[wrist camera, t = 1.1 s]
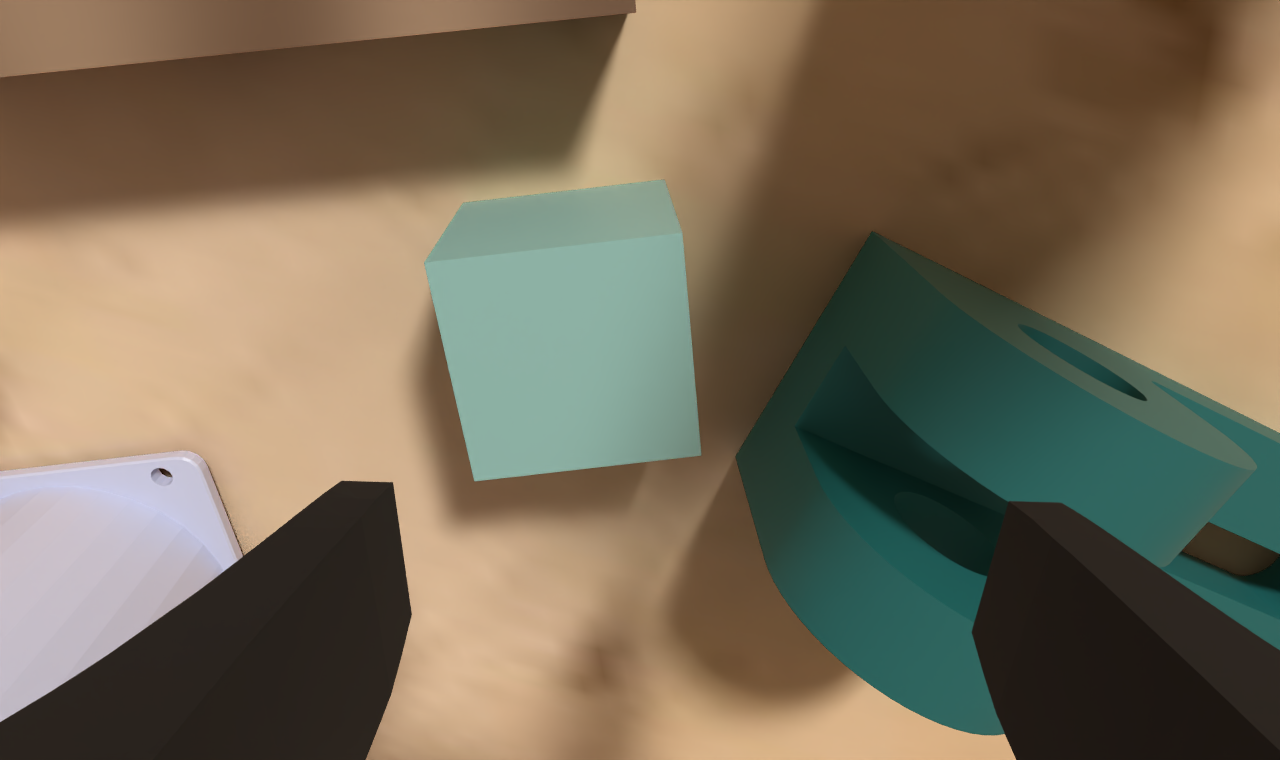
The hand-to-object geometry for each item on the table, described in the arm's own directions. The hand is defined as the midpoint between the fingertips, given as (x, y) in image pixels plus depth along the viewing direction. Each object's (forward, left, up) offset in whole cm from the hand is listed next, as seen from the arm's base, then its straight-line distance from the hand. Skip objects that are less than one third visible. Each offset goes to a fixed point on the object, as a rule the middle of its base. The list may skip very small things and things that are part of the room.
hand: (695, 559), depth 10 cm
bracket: (+11, -7, -11) cm, 17 cm away
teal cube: (-2, 0, -11) cm, 11 cm away
